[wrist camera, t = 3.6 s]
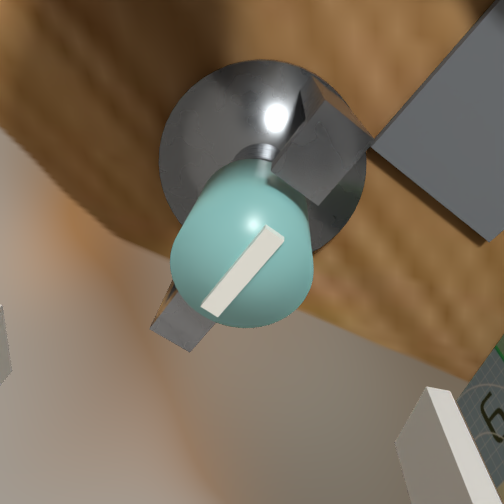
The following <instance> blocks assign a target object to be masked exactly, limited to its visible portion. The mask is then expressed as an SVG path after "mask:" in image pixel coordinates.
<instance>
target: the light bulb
mask: <svg viewBox="0 0 504 504" xmlns="http://www.w3.org/2000/svg"><path fill="white" fill-rule="evenodd" d="M297 130H298V129H297ZM294 134H295V133H294ZM291 138H292V137H291ZM288 142H289V141H288ZM285 146H286V145H285ZM281 151H282V150H281ZM278 155H279V154H278ZM275 159H276V158H275ZM272 163H273V162H269V161H266V160H261V159H242V160H238V161H234V162H232V163H229V164H227V165H225V166H223V167H222V168H220V169H219V170H217V171H216V172H215V173H214V174H213V175H212V176H211V177H210V179H209V180H208V181H207V183H206V185H205V186H204V188H203V190H202V192H201V194H200V195H199V197H198V199H197V201H196V203H195V204H194V206H193V208H192V210H191V212H190V213H189V215H188V217H187V219H186V221H185V222H184V224H183V226H182V228H181V230H180V231H179V233H178V235H177V237H176V239H175V241H174V244H173V246H172V250H171V256H170V269H171V274H172V278H173V281H174V284H175V286H176V288H177V290H178V292H179V293H180V295H181V296H182V298H183V299H184V300H185V301H186V302H187V303H188V305H189V306H190V307H192V308H193V309H194V310H195V311H196V312H198V313H199V314H201V315H202V316H204V317H206V318H208V319H209V320H212V321H214V322H216V323H219V324H222V325H226V326H231V327H238V328H255V327H262V326H266V325H270V324H272V323H275V322H277V321H279V320H281V319H283V318H285V317H287V316H288V315H290V314H291V313H292V312H293V311H295V310H296V309H297V308H298V307H299V306H300V304H301V303H302V302H303V301H304V299H305V298H306V296H307V294H308V292H309V290H310V287H311V284H312V280H313V257H312V247H311V238H310V228H309V219H308V209H307V202H306V198H305V196H304V195H303V194H301V193H300V192H299V191H297V190H296V189H294V188H293V187H292V186H290V185H289V184H288V183H286V182H285V181H283V180H282V179H281V178H279V177H278V176H277V175H275V174H274V173H273V172H271V165H272Z"/></svg>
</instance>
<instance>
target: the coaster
mask: <svg viewBox="0 0 504 504" xmlns="http://www.w3.org/2000/svg"><path fill="white" fill-rule="evenodd" d="M370 147H371V148H373V149H374V150H375V151H376V152H378V153H379V154H380V155H381V156H382V157H384V158H385V159H386V160H387V161H389V162H390V163H391V164H392V165H394V166H395V167H396V168H397V169H399V170H400V171H401V172H402V173H404V174H405V175H406V176H407V177H409V178H410V179H411V180H412V181H414V182H415V183H416V184H417V185H419V186H420V187H421V188H422V189H424V190H425V191H426V192H427V193H429V194H430V195H431V196H432V197H434V198H435V199H436V200H437V201H439V202H440V203H441V204H442V205H444V206H445V207H446V208H447V209H449V210H450V211H451V212H452V213H453V214H455V215H456V216H457V217H458V218H460V219H461V220H462V221H463V222H465V223H466V224H467V225H468V226H470V227H471V228H472V229H473V230H475V231H476V232H477V233H478V234H480V235H481V236H482V237H483V238H485V239H486V240H487V241H488V242H490V241H491V240H492V239H494V238H495V237H496V236H497V235H498V234H499V233H501V232H502V231H503V230H504V0H495V1H494V2H493V3H492V5H491V6H490V7H489V8H488V9H487V10H486V12H485V13H484V14H483V15H482V16H481V17H480V18H479V20H478V21H477V22H476V23H475V24H474V25H473V26H472V28H471V29H470V30H469V31H468V32H467V33H466V34H465V36H464V37H463V38H462V39H461V40H460V41H459V42H458V44H457V45H456V46H455V47H454V48H453V49H452V51H451V52H450V53H449V54H448V55H447V56H446V57H445V59H444V60H443V61H442V62H441V63H440V64H439V65H438V67H437V68H436V69H435V70H434V71H433V72H432V73H431V75H430V76H429V77H428V78H427V79H426V80H425V81H424V83H423V84H422V85H421V86H420V87H419V88H418V90H417V91H416V92H415V93H414V94H413V95H412V96H411V98H410V99H409V100H408V101H407V102H406V103H405V104H404V106H403V107H402V108H401V109H400V110H399V111H398V112H397V114H396V115H395V116H394V117H393V118H392V119H391V120H390V122H389V123H388V124H387V125H386V126H385V127H384V128H383V130H382V131H381V132H380V133H379V134H378V135H377V137H376V138H375V141H374V143H373V144H372V145H371V146H370Z"/></svg>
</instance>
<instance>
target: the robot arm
mask: <svg viewBox="0 0 504 504" xmlns="http://www.w3.org/2000/svg"><path fill="white" fill-rule="evenodd" d="M11 372H12V367H11V360H10V354H9V347H8V340H7V333H6V327H5V319H4V313H3V306H2V305H0V385H1V384H2V383H3V382H4V380H5V379H6V378H7V377H8V375H9V374H10V373H11ZM395 446H396V450H397V453H398V457H399V461H400V464H401V468H402V472H403V476H404V480H405V483H406V487H407V491H408V495H409V498H410V502H411V504H502V503H501V500H500V498H499V496H498V494H497V492H496V489H495V487H494V485H493V483H492V481H491V479H490V476H489V474H488V472H487V470H486V468H485V465H484V463H483V461H482V459H481V457H480V455H479V452H478V450H477V448H476V446H475V444H474V442H473V439H472V437H471V435H470V433H469V431H468V429H467V427H466V424H465V422H464V420H463V418H462V416H461V414H460V411H459V409H458V407H457V405H456V403H455V401H454V399H453V396H452V394H451V392H450V391H447V390H442V389H437V388H431V387H426V388H425V389H424V391H423V393H422V395H421V397H420V398H419V400H418V402H417V404H416V406H415V407H414V409H413V411H412V413H411V414H410V416H409V418H408V420H407V421H406V423H405V425H404V427H403V429H402V430H401V432H400V434H399V436H398V438H397V439H396V441H395Z"/></svg>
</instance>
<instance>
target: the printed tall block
mask: <svg viewBox="0 0 504 504" xmlns="http://www.w3.org/2000/svg"><path fill="white" fill-rule="evenodd" d="M457 403H458V405H459V407H460V410H461V412H462V414H463V416H464V418H465V421H466V422H467V425H468V427H469V429H470V431H471V434H472V436H473V438H474V440H475V442H476V444H477V447H478V449H479V451H480V453H481V456H482V457H483V460H484V462H485V464H486V466H487V469H488V471H489V473H490V475H491V477H492V480H493V482H494V484H495V486H496V488H497V491H498V493H499V495H500V497H501V499H502V501H503V503H504V335H503V336H502V338H501V339H500V341H499V342H498V343H497V345H496V346H495V348H494V349H493V350H492V352H491V353H490V355H489V356H488V357H487V359H486V360H485V361H484V363H483V364H482V366H481V367H480V368H479V370H478V371H477V373H476V374H475V375H474V377H473V378H472V380H471V381H470V382H469V384H468V385H467V387H466V388H465V389H464V391H463V392H462V394H461V395H460V396H459V398H458V399H457Z"/></svg>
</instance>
